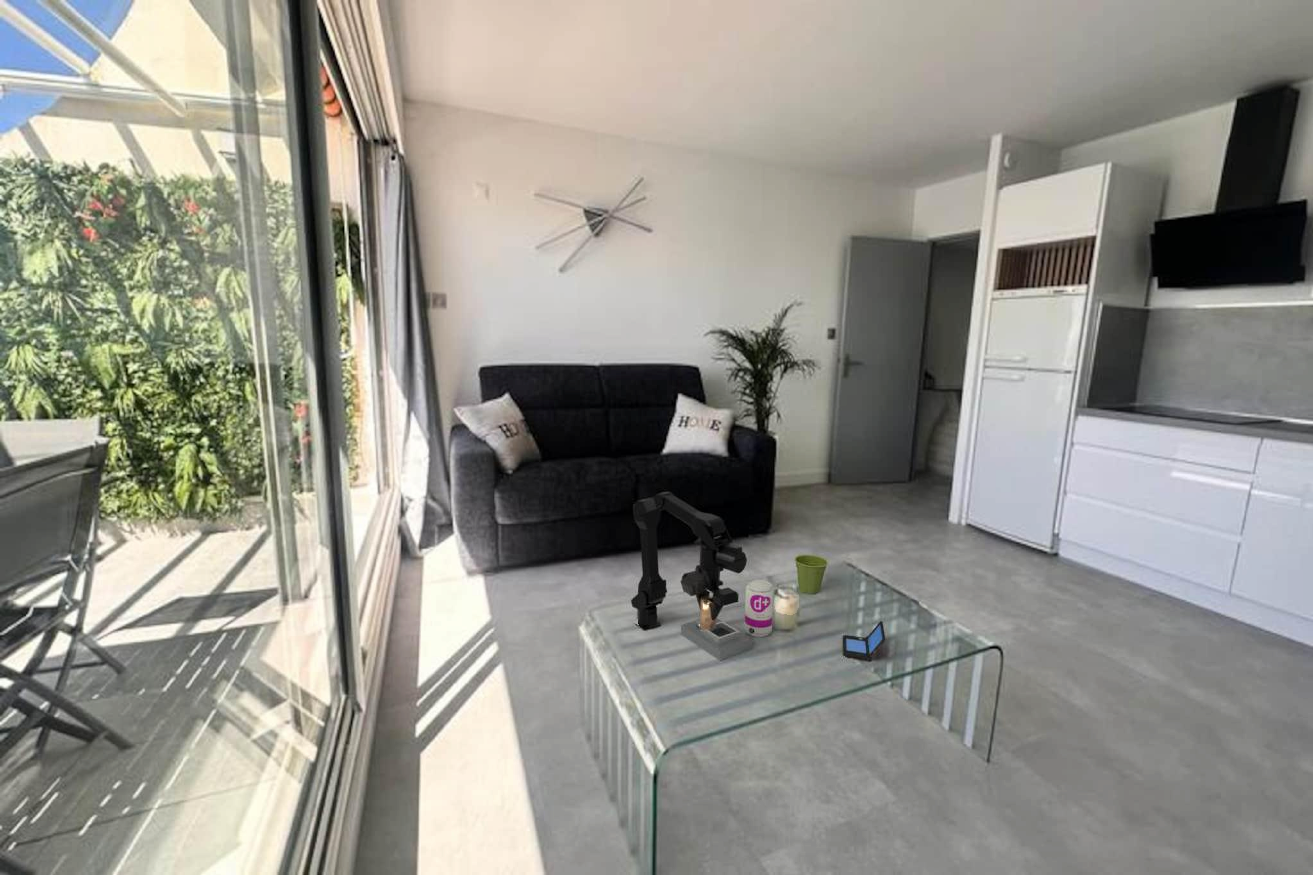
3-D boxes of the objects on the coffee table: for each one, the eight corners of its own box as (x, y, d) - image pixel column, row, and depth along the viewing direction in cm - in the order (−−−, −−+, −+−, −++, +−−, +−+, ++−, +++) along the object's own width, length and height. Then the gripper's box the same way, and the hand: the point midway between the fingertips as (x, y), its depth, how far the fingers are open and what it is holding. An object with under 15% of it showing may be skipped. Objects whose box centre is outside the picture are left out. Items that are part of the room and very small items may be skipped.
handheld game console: (842, 637, 173) (843, 614, 172) (880, 643, 170) (882, 619, 169) (842, 658, 161) (844, 633, 160) (883, 665, 158) (885, 639, 157)
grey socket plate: (680, 634, 173) (681, 620, 173) (711, 624, 180) (712, 610, 179) (720, 660, 158) (720, 645, 158) (752, 648, 165) (752, 634, 165)
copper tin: (696, 625, 162) (697, 597, 161) (709, 621, 164) (710, 594, 163) (706, 631, 158) (707, 603, 157) (719, 627, 161) (720, 600, 159)
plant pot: (793, 595, 203) (795, 564, 201) (791, 582, 214) (793, 553, 213) (828, 598, 201) (830, 567, 199) (824, 585, 213) (826, 555, 211)
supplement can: (771, 639, 171) (773, 590, 169) (743, 636, 173) (745, 588, 171) (771, 626, 179) (773, 580, 177) (744, 624, 181) (746, 578, 179)
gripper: (666, 557, 162) (665, 610, 164) (707, 579, 147) (705, 637, 149) (698, 551, 168) (697, 602, 170) (741, 571, 153) (738, 627, 155)
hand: (708, 616), depth 161 cm, fingers closed on copper tin, 4 cm apart
